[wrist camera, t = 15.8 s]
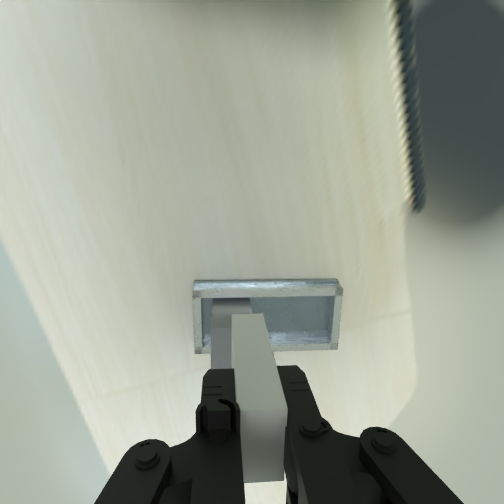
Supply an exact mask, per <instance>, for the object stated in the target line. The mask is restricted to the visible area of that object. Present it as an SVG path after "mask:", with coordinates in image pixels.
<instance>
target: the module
mask: <svg viewBox="0 0 504 504" xmlns="http://www.w3.org/2000/svg"><path fill="white" fill-rule="evenodd" d="M232 314H253V313H252V308H251V303H250V298H249V297H232V298H213V300H212V315H211V369H230V368H232Z"/></svg>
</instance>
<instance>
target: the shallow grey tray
mask: <svg viewBox="0 0 504 504" xmlns="http://www.w3.org/2000/svg"><path fill="white" fill-rule="evenodd" d="M342 294H343V288H342V287H341V286H340V285H339V281H338V280H337V279H287V280H208V281H194V288H193V309H194V342H195V354H206V353H211V315H212V300H213V298H232V297H249V298H250V303H251V308H252V313H253V314H261V313H263V316H264V320H265V324H266V328H267V331H268V335H269V339H270V343H271V347H272V351H305V350H337V349H338V338H339V327H340V316H341V305H342Z"/></svg>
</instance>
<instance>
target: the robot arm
mask: <svg viewBox="0 0 504 504" xmlns="http://www.w3.org/2000/svg"><path fill="white" fill-rule="evenodd" d="M284 469H285V474H286V479H287V493H286V504H464V503H463V502H462V501H461V500H460V499H459V498H458V497H457V496H456V495H455V494H454V493H453V492H452V491H451V490H450V489H449V488H448V486H446V484H445V483H444V482H443V481H442V480H441V479H440V478H439V477H438V476H437V475H436V474H435V473H434V472H433V471H432V470H431V469H430V468H429V467H428V466H427V465H426V463H425V462H424V461H423V460H422V459H421V458H420V457H419V456H418V455H417V454H416V453H415V452H414V451H413V450H412V449H411V448H410V447H409V445H408V444H407V443H406V442H405V441H404V440H403V439H402V438H401V437H399V436H398V435H397V434H396V433H394V432H392V431H390V430H388V429H386V428H381V427H369V428H367V429H365V430H363V432H362V433H361V435H360V438H359V437H354V436H349V435H345V434H342V433H339V432H337V431H335V430H333V428H332V427H331V425H330V424H329V422H328V421H326V420H325V419H324V418H322V417H321V415H320V412H319V409H318V407H317V404H316V401H315V399H314V396H313V394H312V391H311V388H310V386H309V383H308V381H307V378H306V375H305V373H304V372H303V371H302V370H301V369H300V368H299V367H298V366H297V365H292V366H276V362H275V358H274V354H273V351H272V347H271V343H270V339H269V335H268V331H267V328H266V324H265V320H264V316H263V313H261V314H232V368H230V369H209V370H208V371H207V373H206V374H205V375H204V377H203V384H202V396H201V403H200V404H199V405H198V407H197V409H196V433H195V434H194V435H193V436H192V437H191V438H190V439H189V440H187V441H186V442H184V443H181V444H179V445H176V446H173V447H169V446H168V445H167V444H166V443H165V442H163V441H160V440H157V439H148V440H145V441H141V442H138V443H137V444H135V445H134V446H132V447H131V448H130V449H129V450H128V451H127V452H126V453H125V454H124V456H123V458H122V459H121V461H120V463H119V464H118V466H117V467H116V469H115V471H114V472H113V474H112V476H111V477H110V479H109V481H108V482H107V484H106V485H105V487H104V488H103V490H102V492H101V493H100V495H99V497H98V498H97V500H96V502H95V503H94V504H245V493H244V483H253V482H269V481H284Z"/></svg>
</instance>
